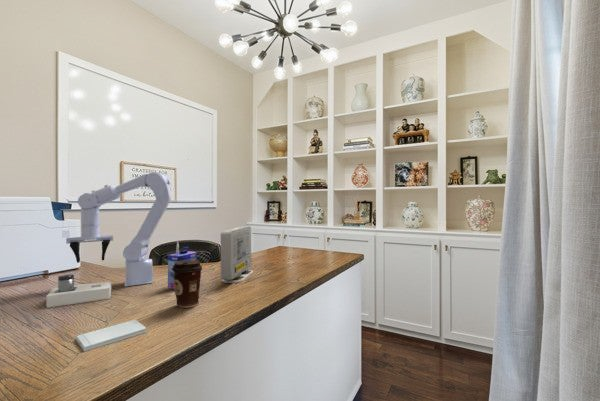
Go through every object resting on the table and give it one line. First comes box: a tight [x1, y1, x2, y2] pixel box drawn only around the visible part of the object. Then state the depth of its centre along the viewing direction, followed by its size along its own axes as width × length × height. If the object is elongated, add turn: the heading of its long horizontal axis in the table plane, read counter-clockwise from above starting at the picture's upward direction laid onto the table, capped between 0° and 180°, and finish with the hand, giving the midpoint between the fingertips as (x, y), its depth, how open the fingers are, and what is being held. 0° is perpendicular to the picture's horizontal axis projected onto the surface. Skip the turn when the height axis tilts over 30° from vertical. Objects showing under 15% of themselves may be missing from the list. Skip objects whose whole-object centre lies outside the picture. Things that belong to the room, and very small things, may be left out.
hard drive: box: [75, 319, 148, 352], centre depth 70 cm, size 2×8×12 cm
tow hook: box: [175, 240, 180, 253], centre depth 148 cm, size 8×13×9 cm
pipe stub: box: [57, 273, 75, 293], centre depth 96 cm, size 4×4×8 cm
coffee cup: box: [172, 260, 203, 309], centre depth 91 cm, size 9×8×13 cm
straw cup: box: [167, 246, 198, 290], centre depth 112 cm, size 10×6×14 cm, turn 158°
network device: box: [220, 225, 254, 284], centre depth 124 cm, size 26×9×20 cm, turn 172°
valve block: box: [46, 280, 112, 309], centre depth 98 cm, size 16×10×4 cm, turn 120°
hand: (90, 261), depth 113 cm, fingers open, 7 cm apart
